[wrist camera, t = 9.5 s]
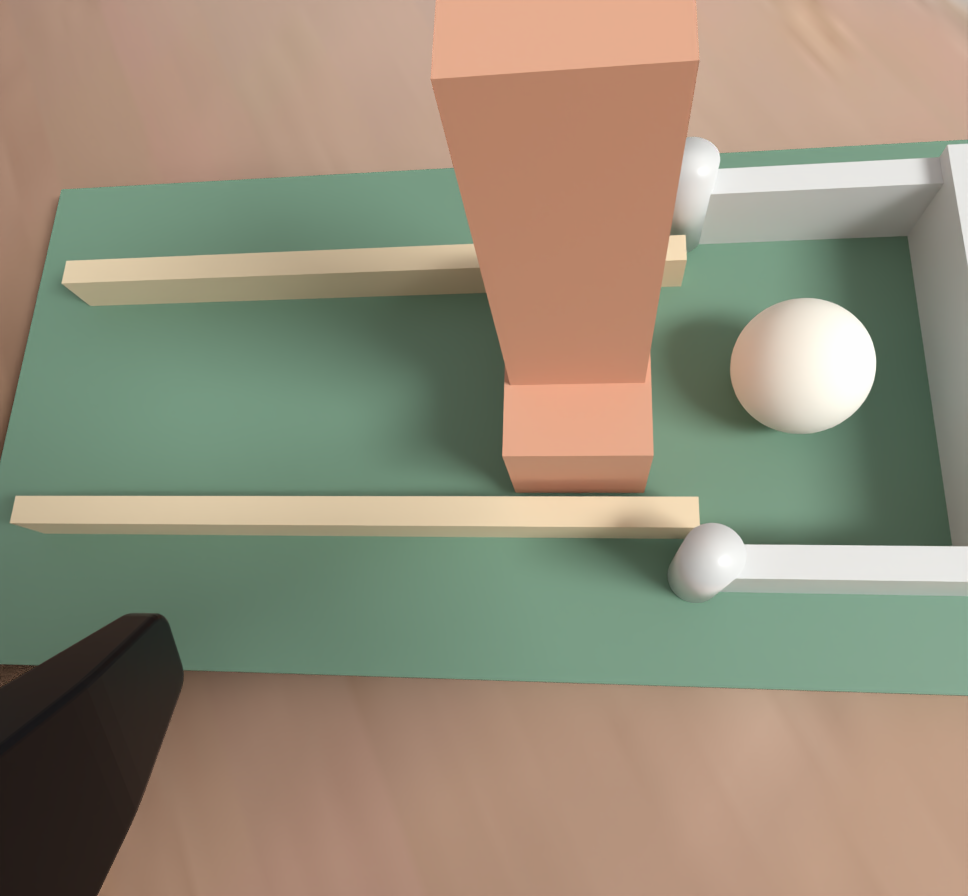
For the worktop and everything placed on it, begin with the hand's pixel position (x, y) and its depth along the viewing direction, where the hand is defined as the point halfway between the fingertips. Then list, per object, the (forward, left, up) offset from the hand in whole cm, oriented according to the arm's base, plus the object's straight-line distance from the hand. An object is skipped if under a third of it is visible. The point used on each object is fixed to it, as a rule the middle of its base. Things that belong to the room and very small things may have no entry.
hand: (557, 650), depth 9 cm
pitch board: (+3, +8, -13) cm, 16 cm away
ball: (+10, +2, -11) cm, 15 cm away
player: (+5, +6, -12) cm, 15 cm away
